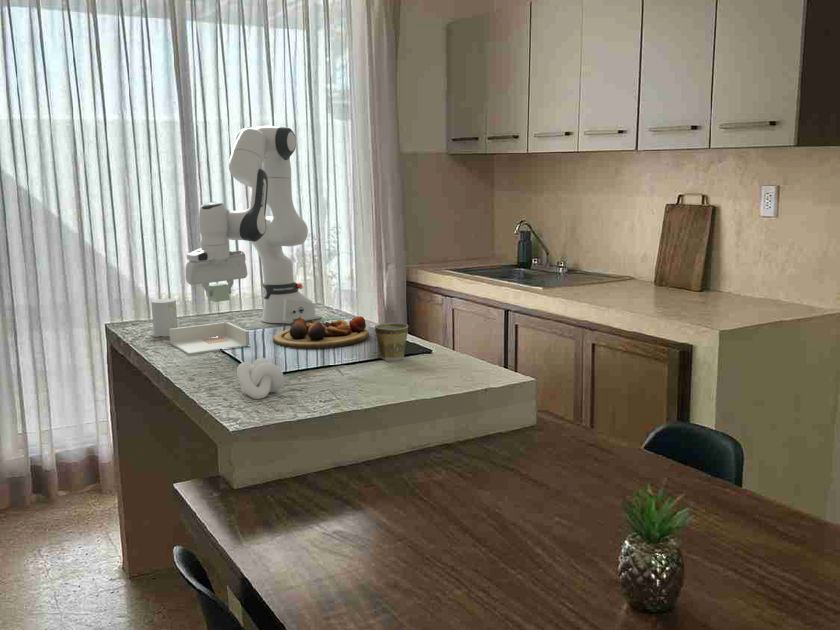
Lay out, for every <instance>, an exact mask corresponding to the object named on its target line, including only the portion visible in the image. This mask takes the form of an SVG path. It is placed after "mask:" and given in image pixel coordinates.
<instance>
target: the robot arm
mask: <svg viewBox="0 0 840 630" xmlns="http://www.w3.org/2000/svg"><path fill="white" fill-rule="evenodd" d="M234 142H235V143H234V145H233V148H232V149H231V150H232V151H231V154H230V158H229V161H228V171H229V172H230V174H231V176H232V177H233V179H235V180H236V181H237V182H239V183H240V184H242V185H245V186H247V187H248V188H249V187H250V188H251V194H250V195H251V196H250V205H249V208H247V209H246V210H230V209H228V208H226V207H225V204H224V202H222V201H210V202H209V201H208V202H205V203H203V204H202V205H201V206H200V208H199V215H198V222H199V223H198V224H199V226H198V227H199V228H198V229H199V234H200V235H201V236H200V237H201V240H200V247H199V248H197V249H196V250H193V251H190V252H189V253H187V254H186V260H188V261H187V263H186V266H185V281H186V283H187V284H188V285H191V286H195V285H201V287H202V288H203V289H204V291H205V296H206V297H208V298H209V297H211V296H213V294H212V293H213V292H212V291H210V290H209V289H208V286H209V285H210V284H209V283H211V284H213V283H217V282H218V283H219V282H226V283H227V285H229V295H230V294H232V287H233V285H234V283H235V281H234V280H241V279H246V278H247V277H248V268H247V264H246V254H245V252H244V251H242V250H231V251H230V241H231V240H232V241H244V242H245V241H247V242H249V243H251V244H252V245H253V246H254V248H255V250H256V251H257V254H258V255H259V258H260V261H261V266H262V274H263V275H262V276H263V283H262V297H263V309H262V316H261V320H260V321H262V322H263V323H268V324H287V325H291V323H292V322H294V321H293V319H294V320H295V319H297V318H299V317H300V318H303V319H304V320H305V322H308V321H314V320H317V319H322V314H321V313H319V312H316V309H315V304H314V303H313V301H312V300H311V299H310V298H309V297H307V296H306V295H304V294H303V293H301V292H300V291H299V290H302V289H303V284H302V283H301V282H298V283H296V282H295V281H294V265H293V262H292V260H291V258H290V257H288V256H287V255H285V253H284V252H283V249H282V247H296V246H299V245H303V244H304V243H305V241H306V240H307V238H308V235H309V228H308V225H307V223H306V221H304V219H303V218H301V216H300V215H299V214H298V212H297V210H296V208H295V206H294V202H293V194H292V191H293V189H292V165H291V161H290V157H291V156H292V155H293V154H294V152H295V150H296V147H297V138H296V134H295V132H294V131H293V129H291V128H290V127H287V126H282V125H280V126H273V125H263V126H256V127H255V126H253V127H250V126H248V127H243V128H241V129H240V130H238V132H237V134H236V135H235V138H234ZM267 206H268V207H269V208H270V211H271V214H272V215H271V216H270V215H266V214H267V212H266V211H267ZM229 240H230V241H229Z"/></svg>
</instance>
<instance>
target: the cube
mask: <svg viewBox="0 0 840 630" xmlns="http://www.w3.org/2000/svg"><path fill="white" fill-rule="evenodd" d="M207 287H208V289H209V290H210V291H212V292H213V293H212V294H213V296H211V297H208V301H210V302H213V303H220V302H225V301H230V294H229V285H228V283H227V284H226V283H222V282H221V283H219V282H218V283H211V284H209V286H207Z"/></svg>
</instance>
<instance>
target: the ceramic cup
mask: <svg viewBox="0 0 840 630" xmlns="http://www.w3.org/2000/svg"><path fill="white" fill-rule="evenodd" d="M374 330H375V336H376V340H377V344H378V349H379V355H380V359H381V360H382V359H383V360H382V361H385V362H397V361H402V360H403V359H404V356H405V351H406V344H407V338H408V335H409V334H408V332H409V325H408V324H407V323H403V322H402V323H401V322H384V323H379V324H376V325H375V326H374Z"/></svg>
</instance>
